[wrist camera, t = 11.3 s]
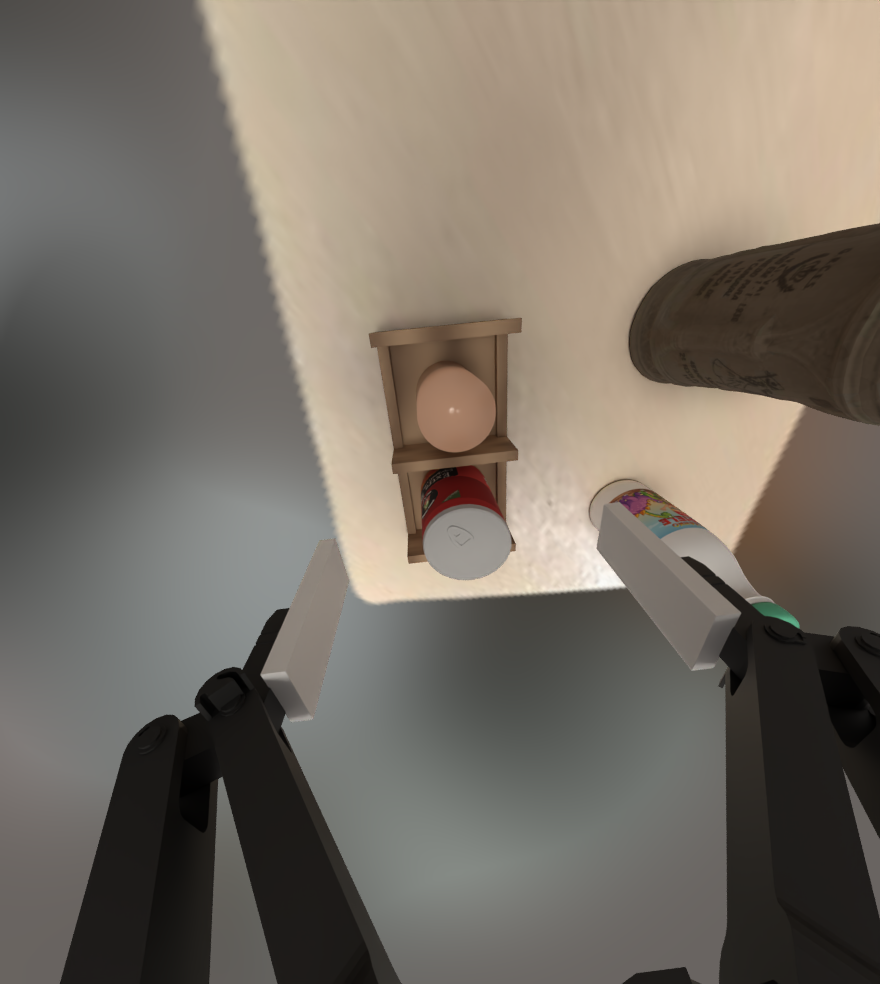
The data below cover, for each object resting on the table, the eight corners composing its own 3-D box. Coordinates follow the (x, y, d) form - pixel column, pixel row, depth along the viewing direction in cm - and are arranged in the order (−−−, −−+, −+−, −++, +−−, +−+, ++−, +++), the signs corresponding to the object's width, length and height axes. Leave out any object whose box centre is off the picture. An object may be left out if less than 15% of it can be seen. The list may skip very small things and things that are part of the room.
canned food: (442, 445, 35) (453, 492, 25) (500, 478, 37) (531, 533, 27) (407, 499, 37) (405, 560, 28) (463, 527, 40) (480, 592, 30)
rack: (502, 319, 30) (521, 318, 25) (502, 521, 41) (515, 550, 36) (376, 332, 30) (368, 333, 25) (409, 532, 41) (408, 563, 35)
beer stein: (600, 346, 32) (844, 388, 15) (681, 227, 28) (1149, 94, 11) (693, 413, 37) (954, 502, 20) (773, 321, 33) (1188, 333, 16)
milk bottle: (635, 530, 43) (788, 671, 26) (580, 529, 43) (699, 675, 25) (655, 478, 40) (849, 601, 22) (596, 477, 39) (748, 603, 21)
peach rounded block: (474, 357, 31) (495, 368, 23) (476, 418, 34) (496, 447, 26) (412, 364, 31) (412, 377, 23) (419, 425, 33) (421, 456, 25)
